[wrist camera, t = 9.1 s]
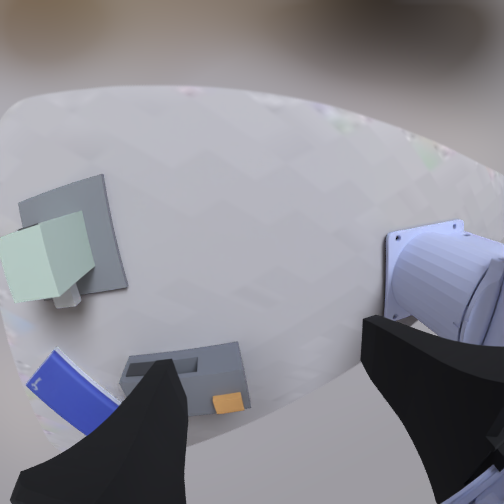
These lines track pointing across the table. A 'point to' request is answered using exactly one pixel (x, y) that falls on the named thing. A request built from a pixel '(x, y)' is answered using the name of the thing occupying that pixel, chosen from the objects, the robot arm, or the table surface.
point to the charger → (47, 260)
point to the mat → (97, 226)
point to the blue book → (72, 392)
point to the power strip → (199, 377)
